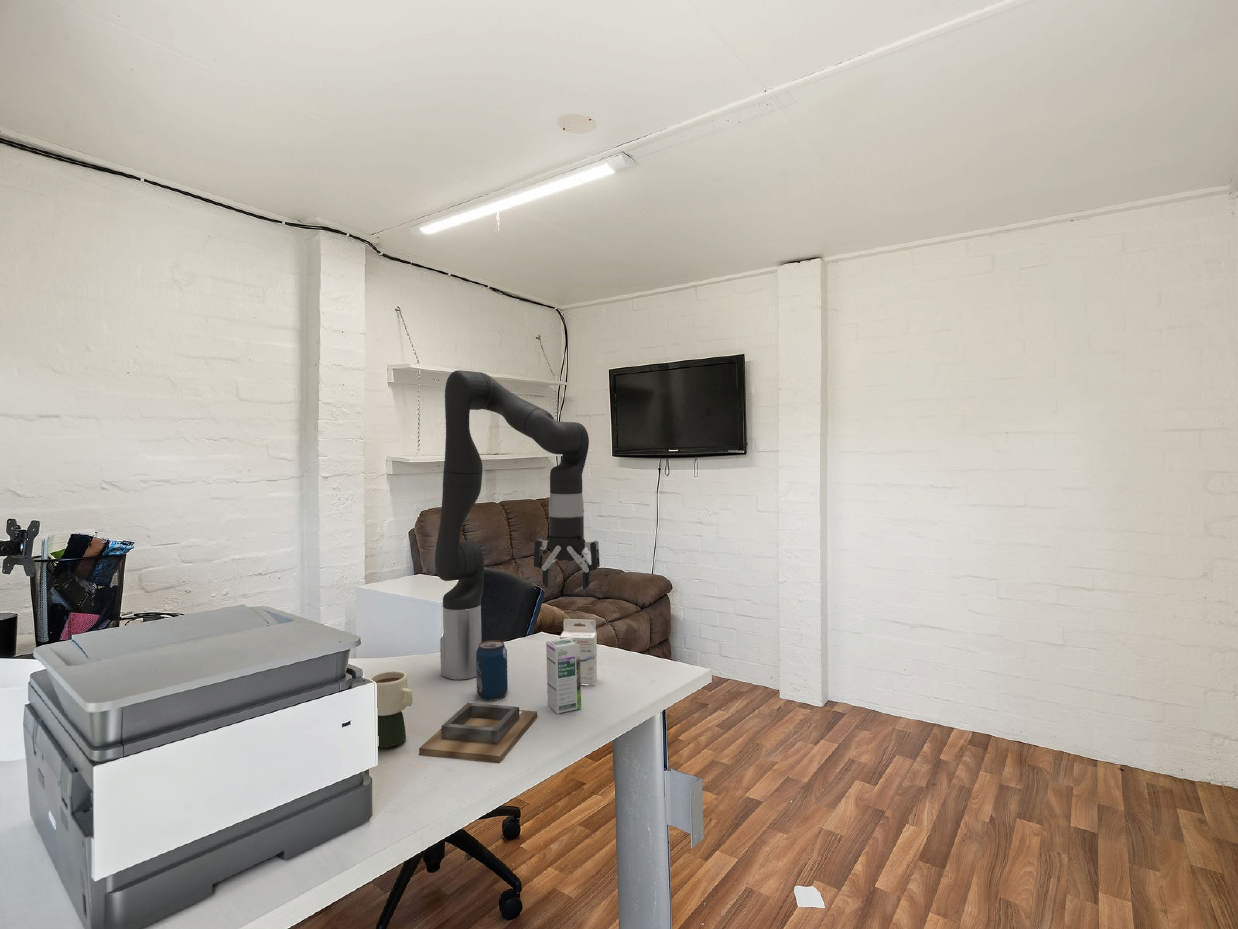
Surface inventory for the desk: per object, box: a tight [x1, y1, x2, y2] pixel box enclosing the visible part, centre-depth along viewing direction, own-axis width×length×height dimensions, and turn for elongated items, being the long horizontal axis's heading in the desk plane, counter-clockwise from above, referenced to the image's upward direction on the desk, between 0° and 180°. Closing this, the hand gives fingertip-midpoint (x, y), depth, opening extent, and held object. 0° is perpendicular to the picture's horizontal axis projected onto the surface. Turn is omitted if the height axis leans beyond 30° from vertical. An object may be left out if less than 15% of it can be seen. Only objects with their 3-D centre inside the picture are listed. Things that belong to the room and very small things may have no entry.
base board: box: [418, 702, 538, 763], centre depth 129 cm, size 16×20×4 cm
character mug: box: [368, 670, 413, 748], centre depth 126 cm, size 11×7×13 cm, turn 70°
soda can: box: [476, 639, 509, 702], centre depth 149 cm, size 7×7×12 cm
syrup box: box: [545, 637, 582, 715], centre depth 142 cm, size 6×6×14 cm
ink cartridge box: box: [559, 618, 598, 686], centre depth 157 cm, size 9×5×15 cm, turn 84°
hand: (566, 588), depth 143 cm, fingers open, 8 cm apart
